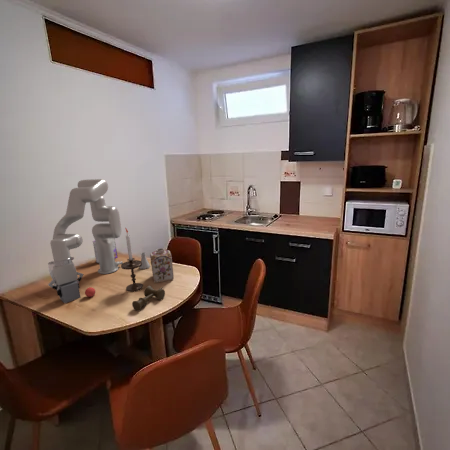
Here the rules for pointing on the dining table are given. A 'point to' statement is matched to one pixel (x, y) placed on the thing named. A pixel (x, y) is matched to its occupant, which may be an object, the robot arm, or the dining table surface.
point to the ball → (90, 292)
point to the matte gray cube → (69, 291)
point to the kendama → (148, 297)
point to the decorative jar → (161, 265)
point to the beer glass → (51, 270)
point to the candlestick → (131, 267)
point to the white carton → (113, 249)
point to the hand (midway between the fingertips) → (69, 293)
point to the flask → (144, 261)
